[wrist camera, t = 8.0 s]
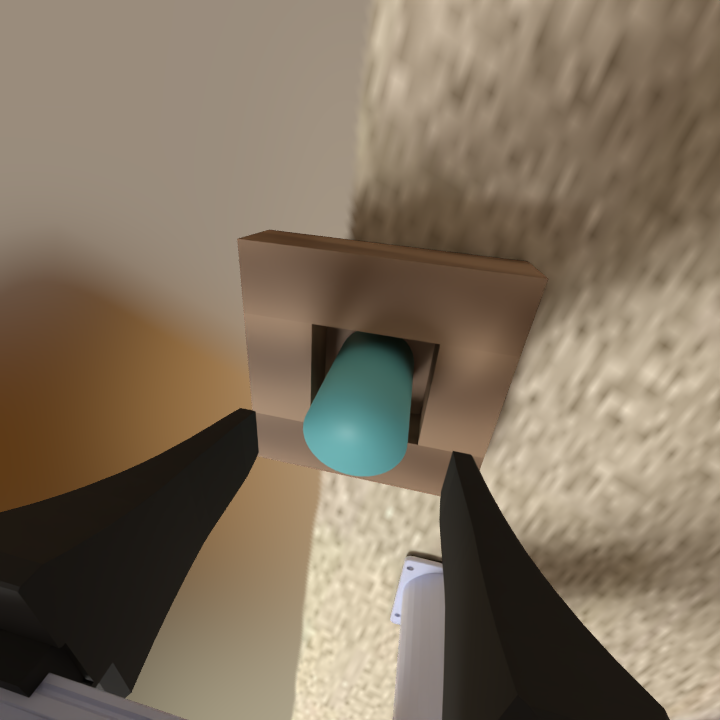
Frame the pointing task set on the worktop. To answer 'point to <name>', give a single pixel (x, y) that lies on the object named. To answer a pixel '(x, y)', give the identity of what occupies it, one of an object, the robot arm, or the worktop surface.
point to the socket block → (390, 318)
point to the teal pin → (363, 406)
